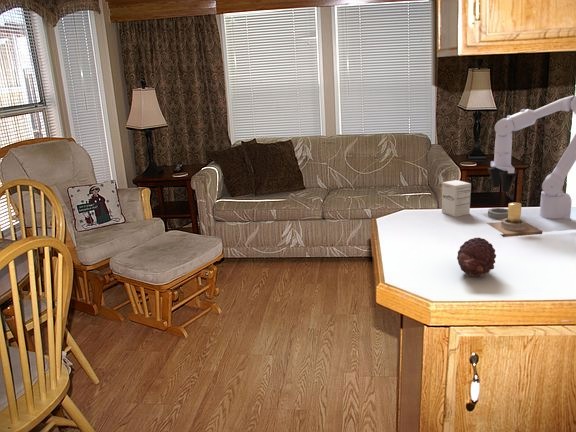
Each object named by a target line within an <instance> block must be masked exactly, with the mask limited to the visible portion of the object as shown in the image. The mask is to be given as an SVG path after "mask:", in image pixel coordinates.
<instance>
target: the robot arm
mask: <svg viewBox="0 0 576 432" xmlns="http://www.w3.org/2000/svg"><path fill="white" fill-rule="evenodd" d="M571 110H572V112H573V113H574V114H575V115H576V95H568V96H566V97H563V98H559V99H558V100H555V101H553V102H551V103H548V104H546V105H544V106H541V107H539V108H537V109H534V110H533V109H529V108H527V109H526V108H523V109H520V111H519V112H516V113H514V114H512V115H510V114H508V115H506V117H503V118H501V119H499V120H498V121H497V122H496V123H495V125H494V131H495V140H494V158H493V160H491V161H490V167H488V168H487V171H488V173H489V176H490V178H491V184H492V188H499V187H500V186H501V191H502V192H503V193H507V192H508V193H509V192H510V191H511V187H512V184H513V181H514V180H515V178H516V177H517V172H515V171H516V170H515V167H514V166H513V164H512V149H513V131H514V132H517V131H520V130H523V129H524V128H527V127H530V126H533V125H535V124H536V121H537V119H541V118H543V117H546V116H549V115H551V114H554V113H556V112H559V111H562V112H570V111H571ZM575 162H576V133H575V134H574V136H573V138H572V139H571V141H570V143H569V144H568V146H567V147H566V149H565V151H564V152H563V154H562V156H561V158H559V160H558V162H557V164H556V166H555V168H554V169H553V170H552V172H551V173H549V174H548V175H547V176H546V177H545V178H544V180H543V182H542V184H541V190H542V191H541V192H540V193H541V194H540V203H539V217H542V218H543V219H551V220H553V219H554V220H556V219H562V218H564V219H566V220H568V221H571V220H572V218H571V212H572V198H571V197H572V196H571V195H570V194H568V193H566V192H564V191H563V188H564V187H563V186H565V185H564V184H565V179H566V177H567V176H568V174H569V172H570V171H571V169H572V167H573V165H574V164H575Z"/></svg>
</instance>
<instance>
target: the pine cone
mask: <svg viewBox="0 0 576 432" xmlns="http://www.w3.org/2000/svg"><path fill="white" fill-rule="evenodd" d="M496 258H497V254H496V249H495V247H494V245H493V244H492V243H490V242H489V241H488V240H486V239H485V238H481V237H474V238H469V239H468V240H466V241H465V242H464V243H463V244H462V245H460V247H459V249H458V251H457V257H456V260H457V263H458V265H459V267H460V270H461V271H462V272H463V274H468V275H470V276H473V277H475V278H476V277H481V276H482V275H486V273H487V274H488V273H490V272H491V270H494V268H495V264H496Z"/></svg>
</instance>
